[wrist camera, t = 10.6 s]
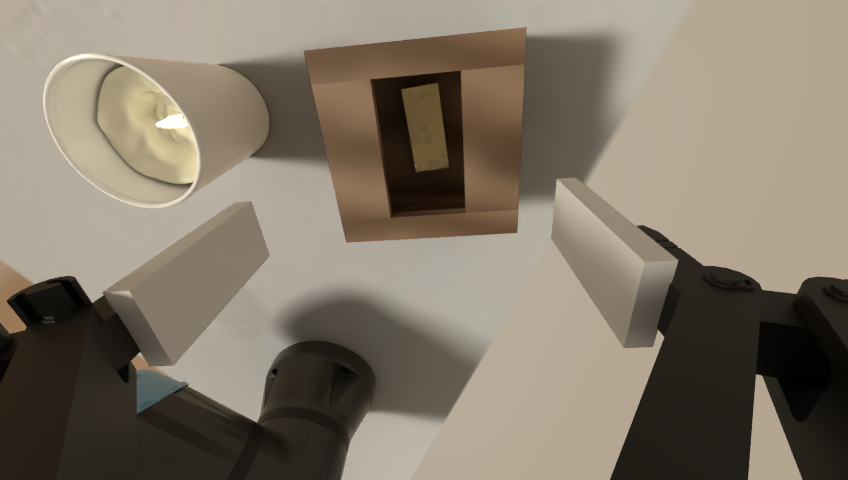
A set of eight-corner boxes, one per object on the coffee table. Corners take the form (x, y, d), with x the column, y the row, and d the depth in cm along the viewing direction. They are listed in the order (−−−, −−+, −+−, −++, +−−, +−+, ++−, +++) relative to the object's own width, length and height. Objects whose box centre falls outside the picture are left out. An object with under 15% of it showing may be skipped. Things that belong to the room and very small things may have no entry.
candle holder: (284, 77, 31) (202, 87, 20) (272, 176, 35) (200, 226, 25) (173, 38, 30) (25, 26, 19) (175, 145, 34) (56, 183, 24)
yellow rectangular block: (438, 80, 30) (437, 82, 27) (448, 158, 33) (449, 167, 30) (404, 86, 30) (401, 89, 28) (418, 163, 33) (416, 172, 31)
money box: (500, 193, 35) (517, 232, 27) (367, 202, 36) (346, 242, 28) (502, 36, 28) (526, 27, 21) (340, 53, 30) (303, 50, 22)
